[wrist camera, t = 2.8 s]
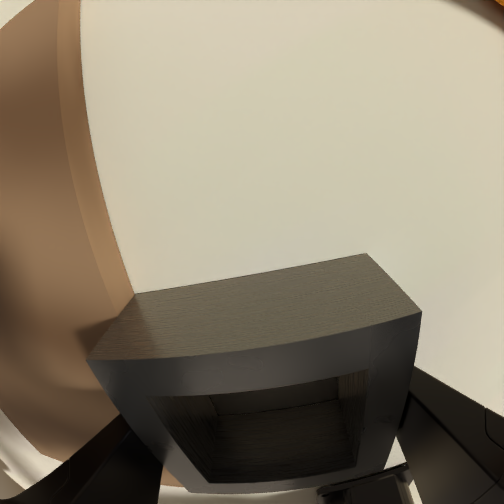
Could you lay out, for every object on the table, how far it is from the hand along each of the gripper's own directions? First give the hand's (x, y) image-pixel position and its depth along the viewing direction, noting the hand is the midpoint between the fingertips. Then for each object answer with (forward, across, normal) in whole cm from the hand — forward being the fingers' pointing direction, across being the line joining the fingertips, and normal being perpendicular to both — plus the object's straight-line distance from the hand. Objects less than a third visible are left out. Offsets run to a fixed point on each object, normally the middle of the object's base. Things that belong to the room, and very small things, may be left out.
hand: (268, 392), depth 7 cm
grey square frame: (+1, 0, 0) cm, 1 cm away
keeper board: (+1, +10, -3) cm, 10 cm away
